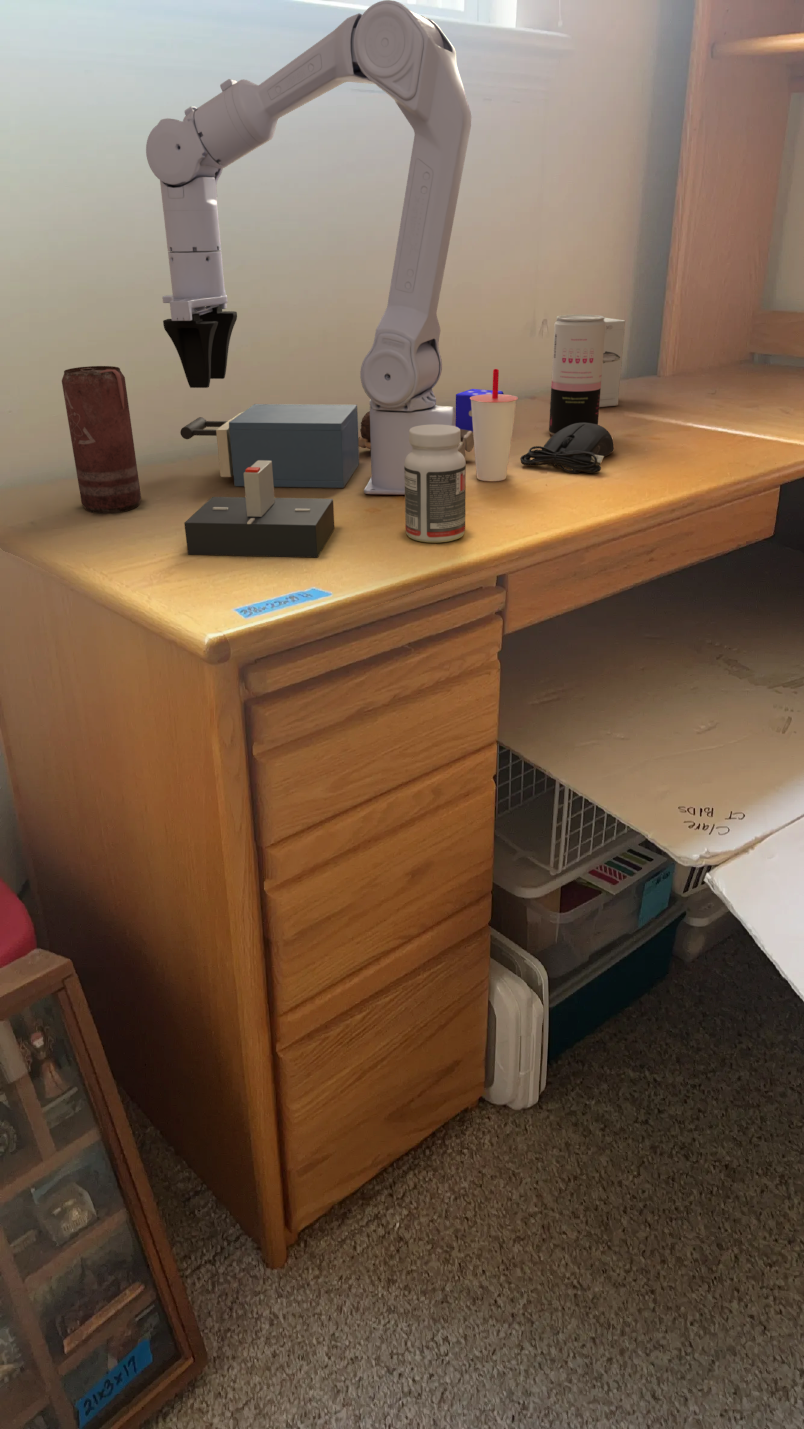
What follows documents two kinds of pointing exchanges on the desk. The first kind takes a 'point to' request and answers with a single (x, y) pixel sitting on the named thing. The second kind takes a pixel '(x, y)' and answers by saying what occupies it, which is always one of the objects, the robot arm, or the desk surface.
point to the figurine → (365, 441)
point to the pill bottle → (435, 484)
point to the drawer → (223, 440)
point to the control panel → (260, 528)
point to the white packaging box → (612, 361)
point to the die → (467, 407)
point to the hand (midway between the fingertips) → (207, 382)
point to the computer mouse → (574, 448)
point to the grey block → (259, 488)
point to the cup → (492, 432)
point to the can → (102, 438)
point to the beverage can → (576, 370)
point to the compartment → (297, 443)
